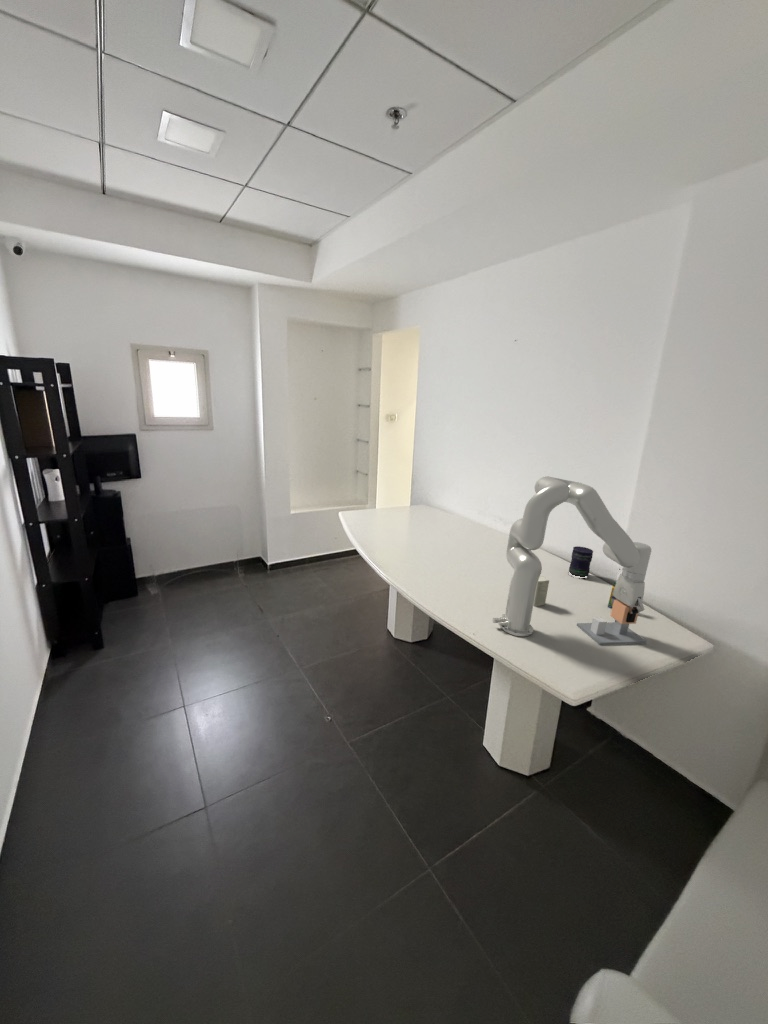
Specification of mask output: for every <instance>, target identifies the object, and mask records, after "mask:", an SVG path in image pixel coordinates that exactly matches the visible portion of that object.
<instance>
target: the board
mask: <svg viewBox="0 0 768 1024" xmlns="http://www.w3.org/2000/svg"><path fill="white" fill-rule="evenodd" d="M614 623H615V621H614V622H613V621H612V622H608V621H606V620H605V619H604V618H603V617H600V616H598V617H597V616H596V617H594V616H593V618H592V622H577V623H576V627H578V628H579V629H580V630H581V631H582V632H583V633H584V634H586V635H587V636H588V637H589V638H591V640H593V641H594V642H595V643H596V644H598V645H599V646H609V645H610V646H611V645H613V646H615V645H642V644H643V645H644V644H645V645H647V642H648V640H646V639H645V638H643V637H642V636H641V635H639V634H637V632H635V631H634V630H632V629H631V628H629V627H628V631H627V634H618V633H617V632H616V631H614V630H613V627H614Z"/></svg>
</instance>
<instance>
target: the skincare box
mask: <svg viewBox="0 0 768 1024" xmlns="http://www.w3.org/2000/svg"><path fill="white" fill-rule="evenodd" d="M549 583H550V579H548V578H546V577H544V576H540V577H539V580H538V583H537V587H536V592H535V598H534V603H533V607H537V606H546V601H547V596H548V589H549Z"/></svg>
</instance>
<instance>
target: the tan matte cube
mask: <svg viewBox="0 0 768 1024" xmlns="http://www.w3.org/2000/svg"><path fill="white" fill-rule="evenodd" d="M629 608H630V607H629V606H627V605H626V604H624V603H623V602H621V601H619V600H614V602H613V606H612V608H611V611H610V617H612V619H614V620H615V619H616V620H617V621H618V622H620V623H621V624H629V625H631V624H632V625H633V624H634V625H635V624H636V623H637V620H638V617H639V613H638V614H636V617H635V621H634V622H629V623H628V622H626V619H627V615H628V612H629ZM634 608H635V607H633V610H634Z"/></svg>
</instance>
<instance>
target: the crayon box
mask: <svg viewBox="0 0 768 1024" xmlns="http://www.w3.org/2000/svg"><path fill="white" fill-rule="evenodd" d="M615 585H616V581H613V583H612V587H611V591H610V596H609V600H608V603H607V608H609V609H612V606H613V602H614V595H613V593H612V590H614V588H615Z"/></svg>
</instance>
